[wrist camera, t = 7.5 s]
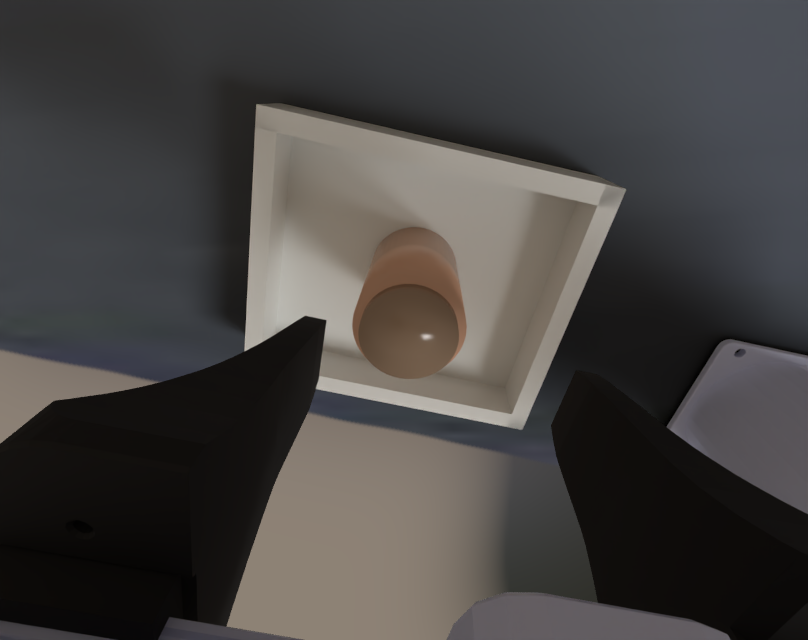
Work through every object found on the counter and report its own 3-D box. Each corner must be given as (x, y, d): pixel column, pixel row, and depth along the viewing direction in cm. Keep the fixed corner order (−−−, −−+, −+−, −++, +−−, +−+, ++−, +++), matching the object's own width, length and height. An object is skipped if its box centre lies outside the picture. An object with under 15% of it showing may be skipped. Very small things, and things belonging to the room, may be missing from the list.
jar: (469, 242, 20) (486, 304, 14) (439, 317, 22) (443, 398, 16) (385, 215, 20) (367, 265, 14) (362, 293, 21) (337, 367, 16)
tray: (598, 176, 19) (626, 189, 16) (512, 393, 25) (522, 429, 22) (281, 103, 18) (256, 104, 16) (264, 343, 24) (243, 374, 21)
